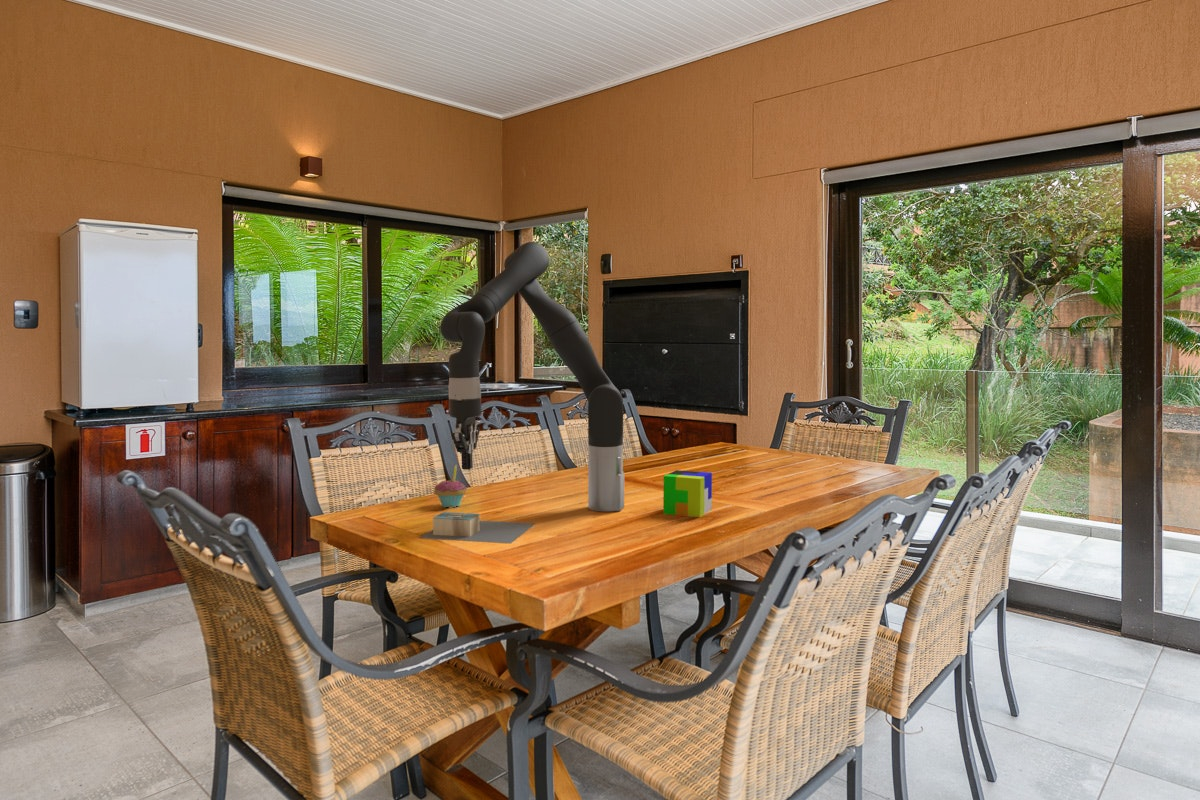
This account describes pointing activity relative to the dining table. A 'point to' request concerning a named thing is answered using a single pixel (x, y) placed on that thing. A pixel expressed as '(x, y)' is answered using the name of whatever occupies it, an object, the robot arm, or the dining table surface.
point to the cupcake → (450, 491)
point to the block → (456, 524)
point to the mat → (489, 532)
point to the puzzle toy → (687, 493)
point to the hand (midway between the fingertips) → (467, 468)
